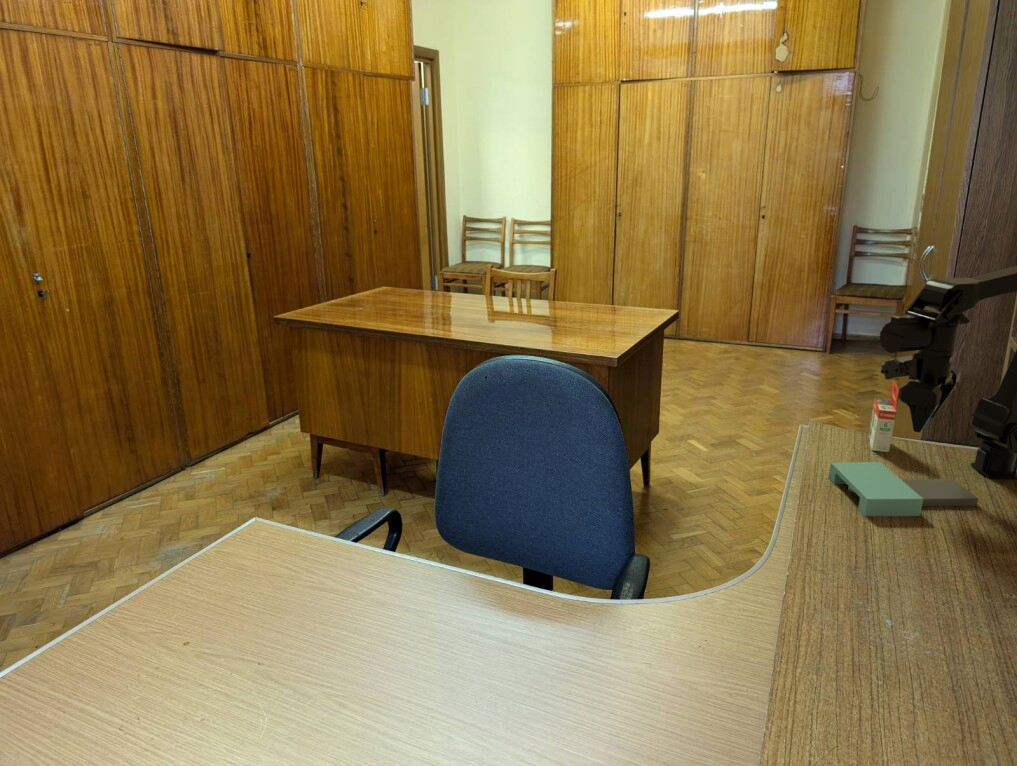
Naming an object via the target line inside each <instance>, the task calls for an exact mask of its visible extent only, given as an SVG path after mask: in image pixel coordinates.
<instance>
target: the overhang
mask: <svg viewBox="0 0 1017 766" xmlns="http://www.w3.org/2000/svg"><path fill="white" fill-rule="evenodd" d="M828 479H829V480H830V482H831V483H832V484H833V485H840V484H841V485H842V484H843V485H848V489H847V490H848V491H849V492H852V493H855V494H856V495H857V496H858V497H859V500H858V501H859V502H858V506H857V507H858V509H857V511H859V512H860V513H861V514H862V515H863V517H920V516H921V513H922V508H923V506H922V503H923V498H922V497H921V496H920V495H918V494H917V493H916V492H915V491H914V490H913V489H911V488H910V487H909V486H908V485H907V484H906V483H904V482H903V481H902V480H901V478H900V477H898V476H897V475H896V474H895V473H894V472H893V471H892V470H891V469H889V468H888V466H886V465H884V464H883V463H882V462H881V461H879V462H877V461H876V462H875V461H873V462H872V461H870V462H869V461H868V462H867V461H865V462H864V461H863V462H854V461H853V462H849V461H848V462H830V466H829V473H828Z"/></svg>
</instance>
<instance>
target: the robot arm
mask: <svg viewBox="0 0 1017 766" xmlns="http://www.w3.org/2000/svg"><path fill="white" fill-rule="evenodd" d="M1015 292H1017V265H1015V266H1011V267H1007V268H1004V269H999V270H995V271H991V272H987V273H983V274H979V275H975V276H971V277H943V278H942V277H941V278H938V277H937V278H933V279H930V280H928V281H927V282H925V285H924V286H923V287H922V289H921V290H920V292H919V293H918V294H917V295H916V296H915V298H914V299H913V301H912V302H911V303H910V304H909V306H908V308H907V309H906V310H905V311H904V314H905V315H898V314H897V315H891V317H890V322H887V323H886V324H885V325H883V327H882V328H881V329H882V330H880V333H879V341H880V344H881V346H882V348H883V350H884V351H885V352H887V353H888V354H896V353H897V354H898V353H905V352H914V353H913V354H912V355H907V356H900V357H894V358H888V359H886V360H885V361H883V362H882V363H881V369H880V373H881V374H882V375H884V379H885V380H886V381H887V380H888V381H889V380H892V379H894V378H902V377H908V380H910V381H908V382H906V383H905V384H903V385H902V386H901V387H900V388H898V389H899V394H898V399H899V400H900V401H901V402H902V403H904V404H905V405H907V406H908V408H909V410H910V411H909V412H910V419H911V423H912V429H913V430H912V431H913V432H915V433H921V432H922V430H923V429H924V427H925V426H926V424H927V423H928V421H930V420H929V419H934V417H935V416H936V415H937V413H938V412H939V411H940V409H941V408H942V406H943V405H944V404H945V403H946V400H947V399H948V398H949V397H950V395H951V394H952V392H953V391H954V389H955V388H956V386H957V385H958V382H960V380H961V375H962V371H961V369H960V368H959V366H957V365H953V360H954V359H955V358H956V357H957V351H955V350H956V349H955V348H956V344H957V343H956V342H957V338H958V337H957V336H958V331H959V325H966V324H969V323H971V322H970V319H969V318H968V317H967V316H966V315H965V314H964V313H965V312H967V311H969V310H971V309H972V310H973V309H974V308H975V307H976V305H978V303H980V302H981V301H984V300H988V299H993V298H995V297H1000V296H1004V295H1007V294H1013V293H1015ZM915 351H916V352H915ZM951 380H952V381H951ZM971 417H972V421H971V425H972V427H973V431H974V438H976V439H980V440H981V443H980V446H979V448H977V451H976V456H975V459H974V460H975V461H974V462H971V463H970V467H971V466H972V468H974V469H976V470H977V471H978V472H980V473H981V474H983V475H984V476H986V477H987V478H988V479H1017V348H1016V350H1015V351H1014V353H1013V356H1012V358H1011V360H1010V363H1009V364H1008V366H1007V369H1006V371H1005V374H1004V375H1003V378H1002V380H1001V382H1000V384H999V387H998V389H997V391H996V392H995V393H994V394H992V395H991V396H990V397H988V398H987V399H986V398H984V397H982V398H980V399H979V400H978V403H977V406H976V408H975V411H974V412H972V414H971Z"/></svg>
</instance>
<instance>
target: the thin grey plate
mask: <svg viewBox="0 0 1017 766" xmlns="http://www.w3.org/2000/svg"><path fill="white" fill-rule="evenodd" d="M900 479H901V478H900ZM901 480H902V481H903V482H904V483H906V484H907V485H908V486H909V487H910V488H911V489H913V490H914V491H915V492H916V493H917V494H918V495H920V496H921V497H922V498H923V503H922V507H939V506H940V507H948V506H950V507H954V506H955V507H957V506H958V507H959V506H960V507H961V506H963V507H971V506H972V507H973V506H974V507H977V506H978V501H979V498H978V496H976V495H975V494H973V493H972V492H971V491H969V490H968V489H967V488H965V487H964V486H963V485H961V484H959V483H958V482H957V481H956V480H954V479H953V478H948V479H947V478H936V479H935V478H934V479H933V478H925V479H924V478H921V479H920V478H914V479H913V478H912V479H909V478H907V479H904V478H903V479H901Z"/></svg>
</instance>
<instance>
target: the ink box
mask: <svg viewBox="0 0 1017 766" xmlns="http://www.w3.org/2000/svg"><path fill="white" fill-rule="evenodd" d="M899 389H900V388H899V387H898V385H897V382H896V380H895V379H893V380H892V386H891V392H890V393H891V395H890V399H887V398H874V399H873V405H872V412H871V418H870V423H869V428H868V434H869V435H868V434H867V440H868V442H869V446H870V449H871V451H872V452H873V451H874V452H881V453H889V452H890V448H891V442H892V437H893V432H894V428H895V427H894V426H895V423H896V417H897V416H896V415H897V412H898V411H897V410H898V407H899V400H900V399H898V394H899Z"/></svg>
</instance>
